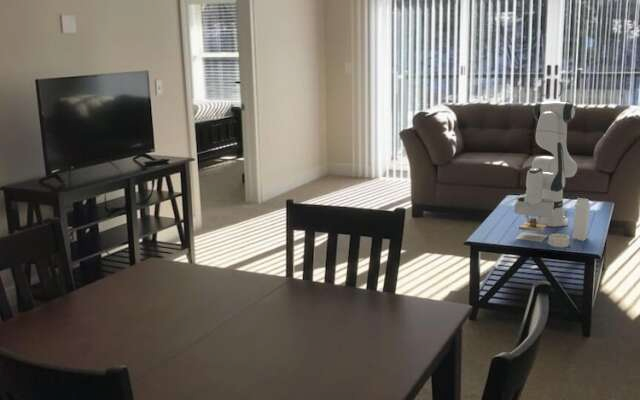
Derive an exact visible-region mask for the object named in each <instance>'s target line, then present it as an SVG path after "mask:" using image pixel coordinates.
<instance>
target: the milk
mask: <svg viewBox="0 0 640 400" xmlns="http://www.w3.org/2000/svg"><path fill="white" fill-rule="evenodd" d="M590 209H591V203H590V202H589V199H588V198H582V197H581V198H580V197H577V198H576V202H575V204H574V215H573V216H574V217H573V232H572V239H573V240H576V239H577V240H576V241H581V242H582V241H583V242H584V241H585V240H587V239H588V236H589V235H588V234H589V222H590V221H589V220H590Z"/></svg>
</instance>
